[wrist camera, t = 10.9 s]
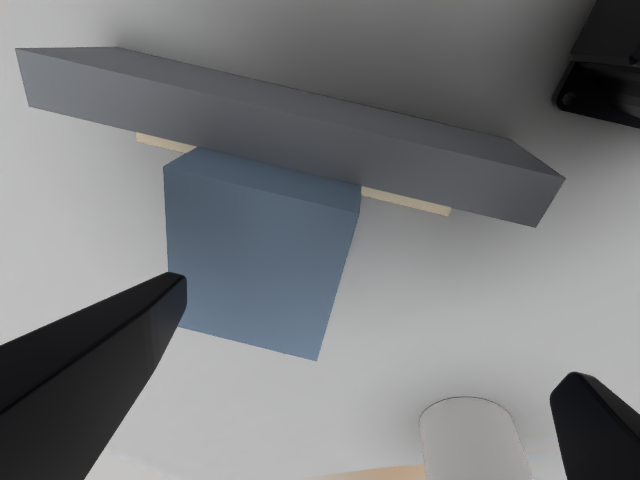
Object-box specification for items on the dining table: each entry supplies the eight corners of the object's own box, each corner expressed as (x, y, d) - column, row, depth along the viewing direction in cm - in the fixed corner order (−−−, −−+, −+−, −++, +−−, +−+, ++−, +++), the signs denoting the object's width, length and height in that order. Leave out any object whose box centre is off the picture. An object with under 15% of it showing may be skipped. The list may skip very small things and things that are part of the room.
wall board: (511, 139, 16) (565, 178, 12) (477, 208, 18) (512, 265, 14) (115, 46, 17) (14, 48, 12) (123, 124, 19) (39, 151, 14)
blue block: (365, 147, 18) (359, 213, 11) (332, 270, 22) (313, 374, 15) (244, 119, 18) (162, 166, 11) (234, 246, 22) (171, 339, 15)
